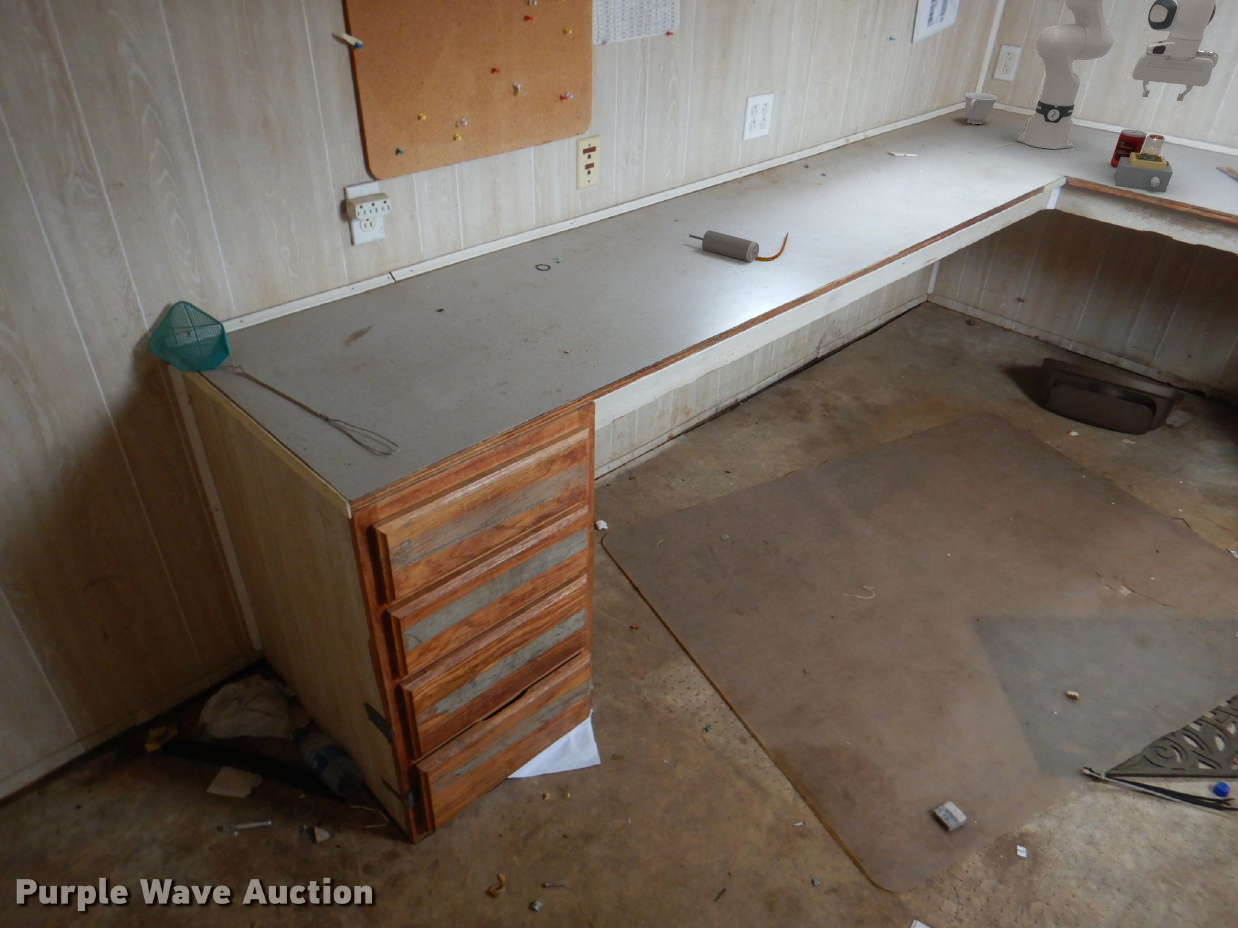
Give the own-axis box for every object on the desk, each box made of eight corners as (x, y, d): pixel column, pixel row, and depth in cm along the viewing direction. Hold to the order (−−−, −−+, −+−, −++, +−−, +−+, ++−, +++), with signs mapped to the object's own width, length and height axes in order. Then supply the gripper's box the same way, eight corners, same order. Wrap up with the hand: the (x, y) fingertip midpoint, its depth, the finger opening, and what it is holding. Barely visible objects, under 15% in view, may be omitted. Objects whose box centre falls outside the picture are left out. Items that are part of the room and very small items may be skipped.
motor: (761, 268, 206) (766, 247, 204) (683, 246, 216) (686, 226, 214) (800, 255, 224) (804, 236, 222) (725, 236, 234) (729, 217, 232)
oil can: (1137, 160, 272) (1147, 133, 267) (1154, 163, 270) (1164, 135, 265) (1138, 164, 268) (1148, 137, 263) (1155, 167, 266) (1166, 139, 261)
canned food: (1129, 163, 292) (1141, 129, 286) (1138, 170, 285) (1151, 136, 279) (1106, 162, 292) (1117, 128, 286) (1114, 168, 286) (1126, 134, 280)
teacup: (950, 124, 330) (957, 96, 325) (965, 118, 340) (972, 91, 334) (981, 130, 324) (988, 102, 318) (995, 123, 334) (1002, 96, 328)
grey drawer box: (1114, 175, 279) (1123, 150, 275) (1161, 182, 275) (1171, 156, 270) (1116, 188, 268) (1125, 162, 263) (1166, 195, 263) (1176, 168, 259)
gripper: (1219, 50, 250) (1199, 100, 258) (1142, 43, 256) (1124, 92, 264) (1222, 54, 245) (1202, 105, 253) (1143, 47, 251) (1126, 97, 259)
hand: (1162, 98), depth 259 cm, fingers open, 8 cm apart
